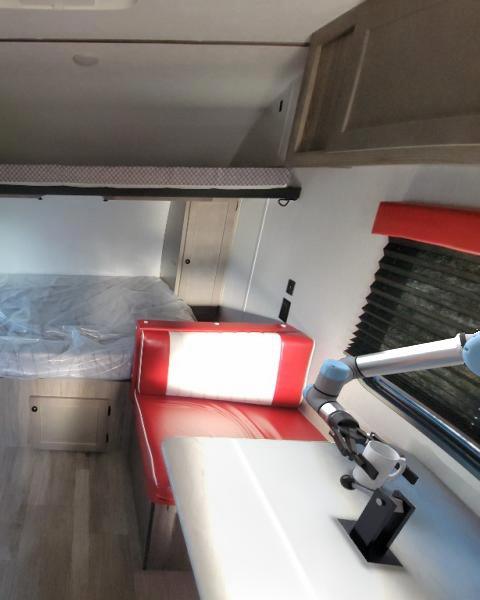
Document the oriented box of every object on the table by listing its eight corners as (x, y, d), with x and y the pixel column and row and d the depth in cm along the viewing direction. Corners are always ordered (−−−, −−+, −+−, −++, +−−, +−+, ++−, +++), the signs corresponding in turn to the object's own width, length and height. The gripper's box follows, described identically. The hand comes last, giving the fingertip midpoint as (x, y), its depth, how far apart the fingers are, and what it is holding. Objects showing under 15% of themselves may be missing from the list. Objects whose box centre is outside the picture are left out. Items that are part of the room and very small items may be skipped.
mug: (357, 487, 93) (375, 455, 89) (346, 468, 99) (363, 437, 95) (399, 499, 91) (420, 467, 87) (385, 479, 97) (404, 448, 93)
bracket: (335, 521, 84) (361, 476, 78) (367, 525, 83) (395, 480, 78) (364, 565, 74) (396, 517, 68) (400, 570, 74) (435, 522, 68)
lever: (336, 486, 87) (336, 471, 88) (350, 487, 87) (349, 473, 88) (390, 514, 72) (389, 496, 73) (406, 516, 72) (406, 498, 73)
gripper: (368, 433, 111) (430, 493, 90) (301, 425, 111) (347, 483, 90) (378, 415, 108) (444, 473, 87) (309, 407, 108) (359, 463, 87)
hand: (395, 478), depth 89 cm, fingers closed on mug, 10 cm apart
